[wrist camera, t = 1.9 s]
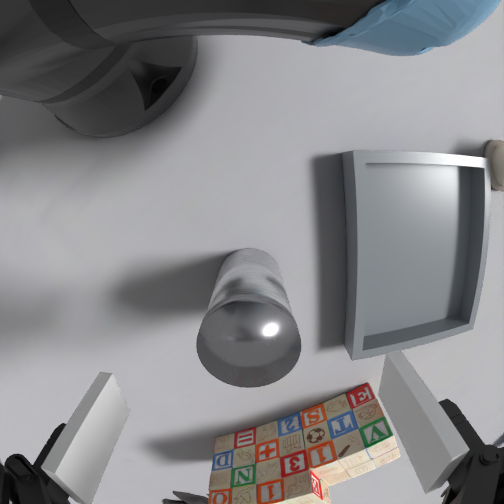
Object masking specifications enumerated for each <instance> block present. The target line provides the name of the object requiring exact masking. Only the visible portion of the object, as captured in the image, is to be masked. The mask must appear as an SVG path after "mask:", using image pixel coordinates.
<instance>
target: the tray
mask: <svg viewBox="0 0 504 504" xmlns="http://www.w3.org/2000/svg"><path fill="white" fill-rule="evenodd" d="M342 165H343V178H344V193H345V213H346V254H347V272H346V313H345V333H344V346H345V348H346V350H347V352H348V354H349V356H350V358H351V360H352V361H353V360H358V359H363V358H368V357H373V356H378V355H382V354H386V353H388V352H393V351H397V350H404V349H408V348H412V347H416V346H419V345H423V344H427V343H430V342H434V341H437V340H441V339H444V338H447V337H450V336H454V335H457V334H460V333H463V332H466V331H469V330H472V329H473V326H474V322H475V318H476V314H477V310H478V305H479V301H480V296H481V291H482V285H483V279H484V273H485V266H486V259H487V250H488V240H489V228H490V207H491V177H490V159H489V158H482V157H473V156H464V155H454V154H442V153H428V152H410V151H369V150H358V151H348V152H343V153H342Z"/></svg>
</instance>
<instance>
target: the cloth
mask: <svg viewBox="0 0 504 504" xmlns="http://www.w3.org/2000/svg"><path fill="white" fill-rule="evenodd" d="M172 493H173V494H174V495H176V496H177V497H178V498H179V499H181V500H183V501H184V502H178V501H173V500H169V499H164V504H208V498H206V497H204V496H199V495H194V494H190V493H184V492H177V491H173V492H172ZM207 495H208V496H209V494H207Z"/></svg>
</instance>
